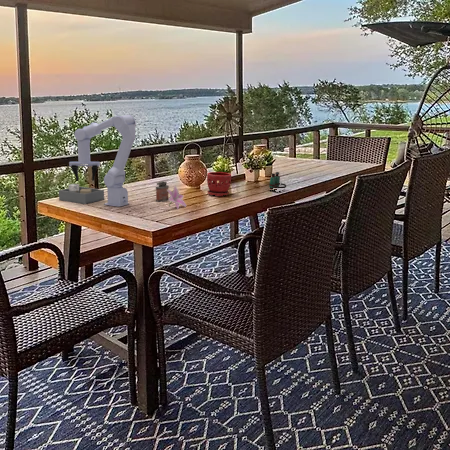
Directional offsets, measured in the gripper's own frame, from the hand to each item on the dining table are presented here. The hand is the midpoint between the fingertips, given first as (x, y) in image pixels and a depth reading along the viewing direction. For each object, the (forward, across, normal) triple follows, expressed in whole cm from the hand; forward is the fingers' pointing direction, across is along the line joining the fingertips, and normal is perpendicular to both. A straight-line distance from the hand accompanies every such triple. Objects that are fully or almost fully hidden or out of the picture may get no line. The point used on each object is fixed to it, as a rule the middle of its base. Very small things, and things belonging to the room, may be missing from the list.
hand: (85, 180), depth 258 cm
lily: (+11, +45, -16) cm, 49 cm away
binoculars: (+11, +104, +24) cm, 107 cm away
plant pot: (+11, +69, +14) cm, 71 cm away
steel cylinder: (+10, -6, +4) cm, 12 cm away
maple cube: (+10, 0, 0) cm, 10 cm away
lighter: (+11, +38, 0) cm, 40 cm away
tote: (+10, -3, +2) cm, 11 cm away
